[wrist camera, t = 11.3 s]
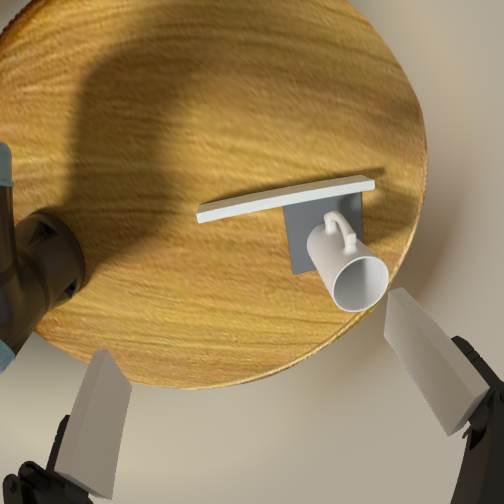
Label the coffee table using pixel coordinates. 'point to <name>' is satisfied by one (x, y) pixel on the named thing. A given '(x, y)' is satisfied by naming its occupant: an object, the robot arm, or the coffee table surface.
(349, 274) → the mug
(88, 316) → the coffee table surface
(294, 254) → the mat
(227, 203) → the wall
